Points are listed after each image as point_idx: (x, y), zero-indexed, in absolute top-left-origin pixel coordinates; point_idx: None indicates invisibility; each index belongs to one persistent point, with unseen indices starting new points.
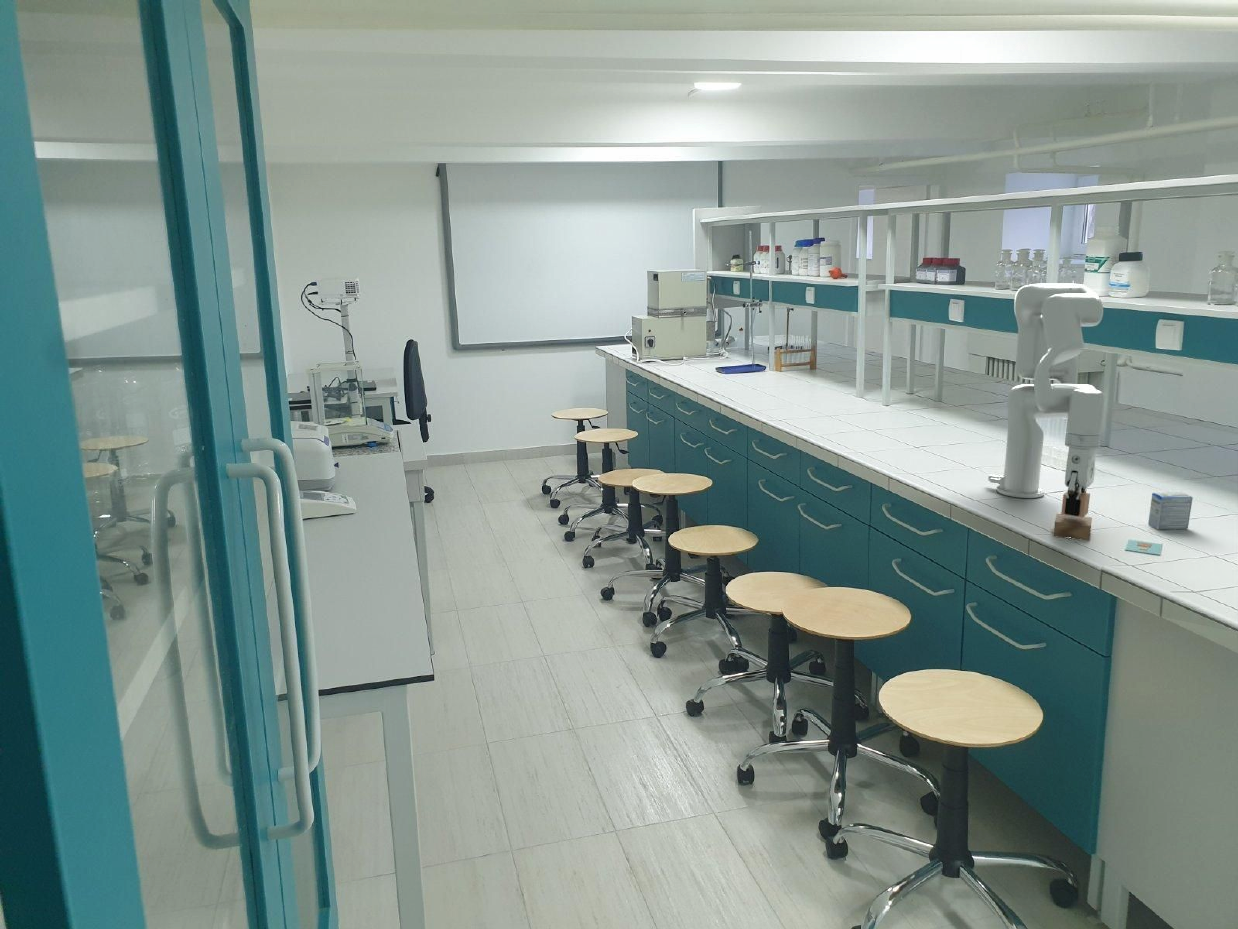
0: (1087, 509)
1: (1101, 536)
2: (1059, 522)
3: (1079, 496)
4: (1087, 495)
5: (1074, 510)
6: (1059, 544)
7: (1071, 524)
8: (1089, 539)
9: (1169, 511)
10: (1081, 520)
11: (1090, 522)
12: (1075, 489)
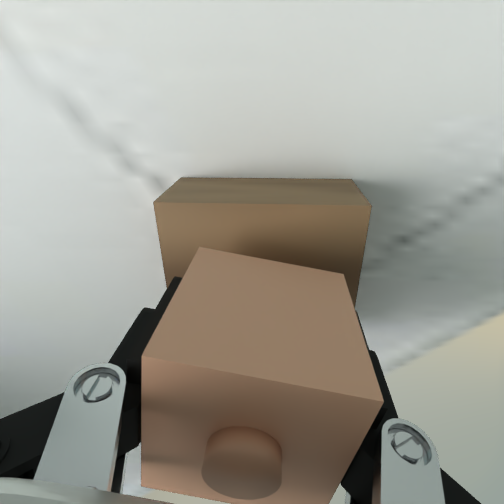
0: (223, 269)
1: (241, 120)
2: None
3: (401, 458)
4: (259, 382)
5: (377, 360)
6: (457, 298)
7: (353, 301)
8: (351, 181)
9: None
10: (256, 257)
11: (281, 210)
12: (122, 469)
